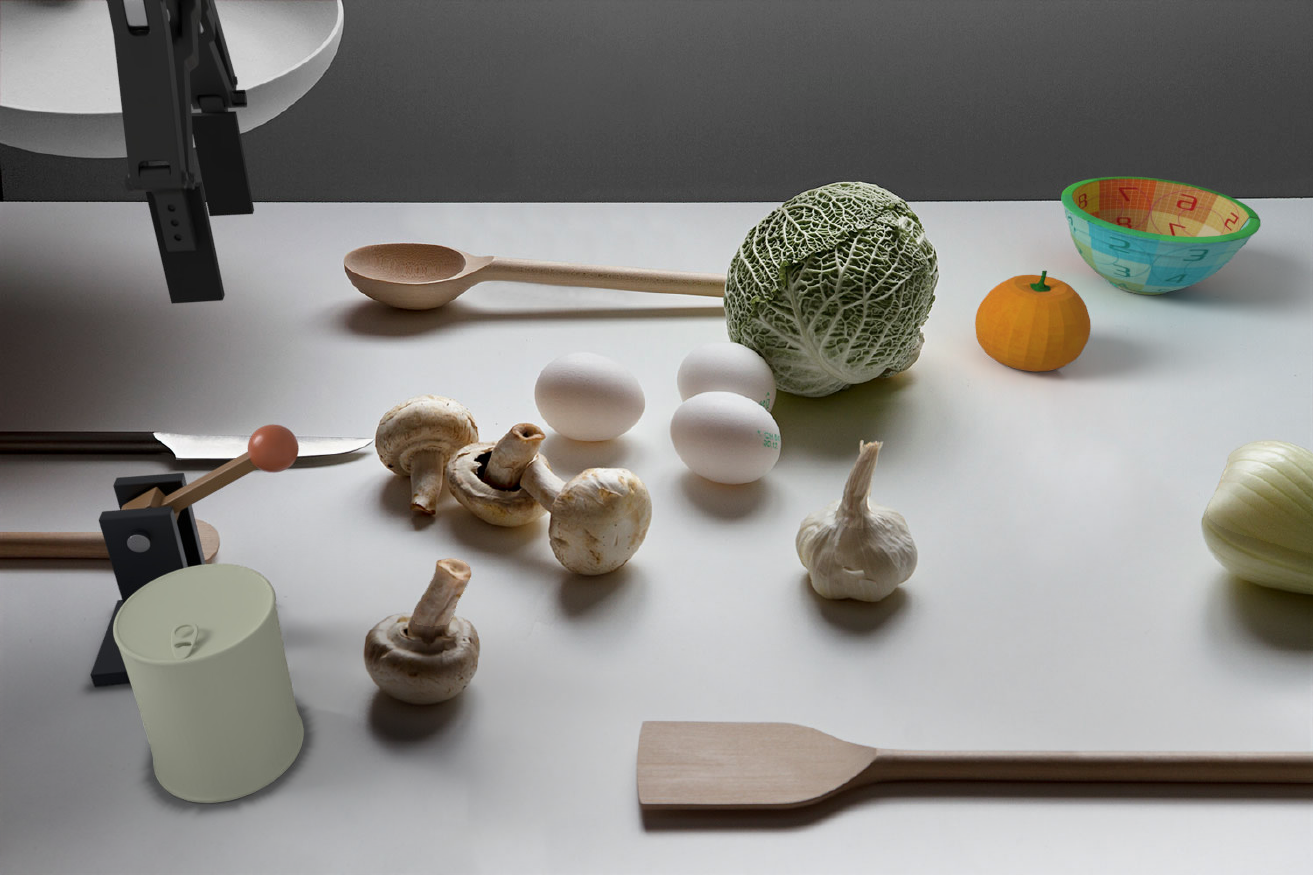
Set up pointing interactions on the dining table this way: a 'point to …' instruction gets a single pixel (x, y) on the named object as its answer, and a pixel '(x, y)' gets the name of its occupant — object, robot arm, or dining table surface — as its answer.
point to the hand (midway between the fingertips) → (216, 253)
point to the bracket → (143, 554)
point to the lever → (230, 470)
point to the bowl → (1155, 231)
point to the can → (211, 681)
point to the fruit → (1033, 323)
